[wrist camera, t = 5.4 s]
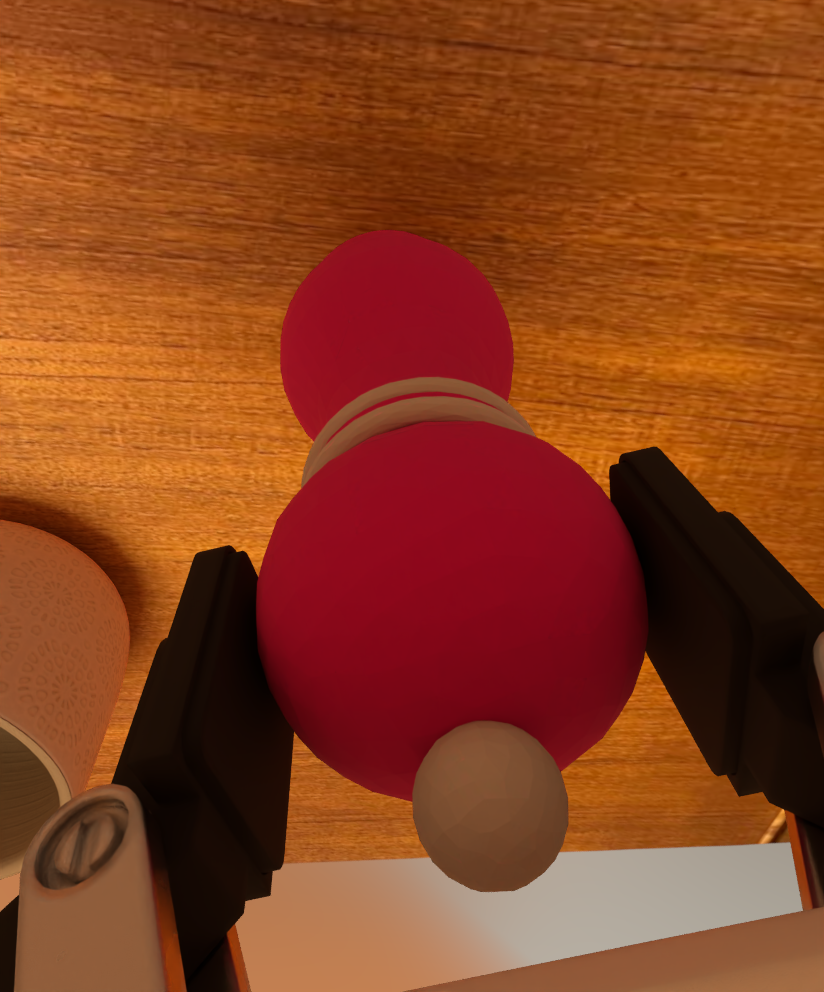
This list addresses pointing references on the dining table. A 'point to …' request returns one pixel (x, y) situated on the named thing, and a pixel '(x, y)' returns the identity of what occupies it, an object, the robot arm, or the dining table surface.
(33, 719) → the planter
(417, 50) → the dining table surface
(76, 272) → the dining table surface
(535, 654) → the pepper mill
